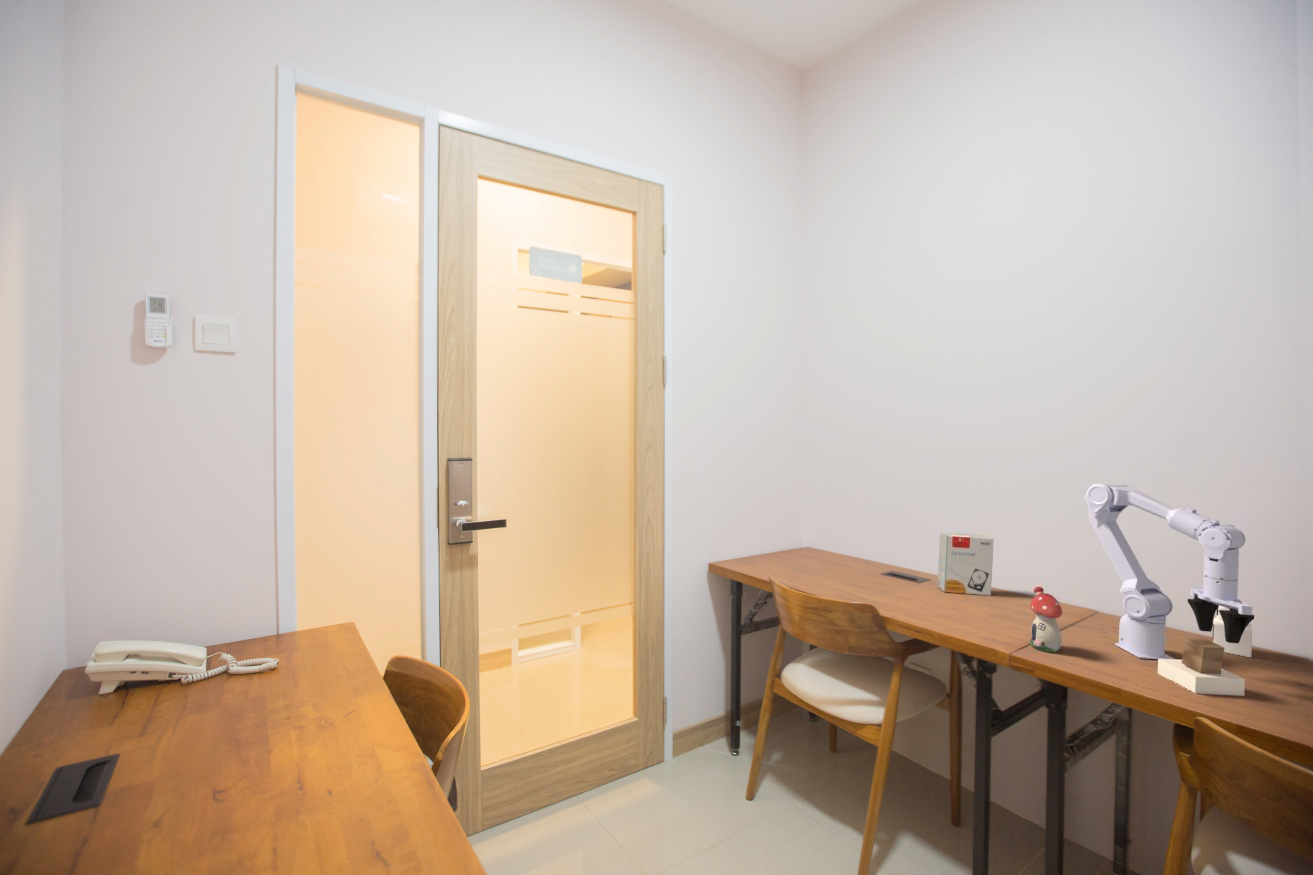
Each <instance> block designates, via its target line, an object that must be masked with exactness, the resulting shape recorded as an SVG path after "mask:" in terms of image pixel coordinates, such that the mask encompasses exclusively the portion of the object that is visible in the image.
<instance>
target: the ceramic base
mask: <svg viewBox="0 0 1313 875" xmlns="http://www.w3.org/2000/svg"><path fill="white" fill-rule="evenodd" d="M1158 674H1159V675H1158ZM1157 675H1158V676H1160V675H1161V676H1160V677H1162V676H1163V677H1162V678H1164V677H1165V678H1164V679H1166V678H1167V679H1166V680H1168V679H1169V680H1168V681H1170V680H1172V681H1174V682H1175V683H1174V682H1173V683H1174V684H1176V683H1178V684H1179V685H1178V684H1177V685H1178V686H1180V685H1181V686H1180V687H1182V686H1183V687H1182V688H1184V687H1185V688H1184V689H1186V688H1187V689H1186V690H1188V691H1189V690H1191V691H1192V692H1191V691H1190V692H1191V693H1193V692H1194V693H1193V694H1197V693H1199V694H1202V695H1218V696H1219V695H1220V696H1239V697H1240V696H1241V697H1242V696H1243V697H1244V696H1245V683H1246V682H1245V681H1246V679H1245V678H1244V677H1241V676H1239V675H1237V674H1235V673H1233V672H1230V671H1228V670H1225V669H1223V668H1222V669H1221V674H1205V673H1199V672H1197V671H1195V670H1193V669H1191V668H1190V667H1188V666H1186V665H1184V664H1182V659H1176V658H1174V659H1157ZM1172 681H1171V682H1172Z"/></svg>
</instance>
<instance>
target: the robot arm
mask: <svg viewBox="0 0 1313 875" xmlns="http://www.w3.org/2000/svg"><path fill="white" fill-rule="evenodd" d="M1083 499H1084V501H1085V502H1086V504H1087V515H1088V521H1089V524H1090V526H1091V527H1092V529H1093V531H1094V533H1095V535H1096V537H1097V539H1098V540H1099V542H1100V544H1101V546H1102V548H1103V550H1104V552H1105V554H1106V555H1107V557H1108V559H1109V561H1110V563H1111V565H1112V567H1113V568H1114V571H1115V572H1116V574H1117V576H1118V578H1119V580H1120V582H1121V587H1120V589H1119V591H1118V592H1119V596H1120V597H1121V600H1122V602H1121V603H1122V608H1123V610H1124V612H1125V613H1126V614H1124V615H1123V616H1121V617H1120V620H1119V625H1118V626H1119V628H1118V630H1119V631H1118V642H1115V643H1114V644H1115V646H1116V647H1119V648H1120V649H1123V650H1125V651H1126V652H1128V653H1130V654H1131V655H1133V656H1135V657H1137V658H1139V659H1149V660H1158V659H1175V658H1174V657H1172V656H1170V655H1169V654H1166V628H1167V626H1166V621H1167V616H1169V615H1170V614H1171V613H1172V611H1173V609H1174V608H1173V601H1172V600H1171V598H1170V597H1169V596H1168V595H1167V594H1166V593H1164V592H1163V590H1161V589H1160V586H1159V585H1158V584H1157V583H1156V582H1154V581H1153V580H1151V579H1149V577H1147V575H1146V573H1145V571H1144V569H1143V567H1142V566H1141V564H1140V563H1139V560H1138V559H1137V557H1136V555H1135V553H1134V551H1133V549H1132V547H1131V546H1130V544H1129V542H1128V541H1127V539H1126V537H1125V535H1124V534H1123V532H1122V530H1121V528H1120V526H1119V524H1118V523H1117V519H1118V517H1119V515H1120V514H1121V513H1122V512H1123V511H1124V510H1125V509H1127V507H1128V506H1132V507H1135V508H1137V509H1140V510H1142V511H1145V512H1147V513H1149V514H1152V515H1154V516H1156V517H1158V518H1160V519H1163V520H1165V521H1166V523H1167V525H1168V527H1169V528H1171V529H1173V530H1175V531H1177V532H1179V533H1181V534H1183V535H1186V536H1187V537H1190V538H1191V539H1193V540H1195V541H1196V542H1197V541H1198V542H1199V544H1200V545H1201V547H1202V548H1203V551H1204V552H1203V575H1202V580H1203V582H1202V589H1201V588H1193V587H1191V588H1190V597H1192V598H1188V599H1187V603H1188V604H1189V606H1190V608H1191V609H1192V612H1193V614H1194V617H1195V620H1196V623H1197V627H1198V630H1199V631H1201V632H1212V631H1213V621H1214V618H1215V614H1216V613H1217V607H1218V606H1219V605H1220V606H1223V607H1225V608H1228V609H1230V611H1229V610H1219V613H1220V615H1221V617H1222V619H1223V623H1224V629H1225V639H1226V642H1228V643H1239V641H1240V639H1241V636H1242V634H1243V632H1244V630H1245V628H1246V627H1247V625H1248V624H1251V622H1252V621H1253V620H1255V615H1254V614H1253V606H1252V605H1249V604H1247V603H1245V602H1243V601H1242V600H1240V599H1239V598H1238V593H1239V592H1238V590H1239V589H1238V588H1239V566H1240V564H1239V562H1240V560H1239V559H1240V558H1239V556H1240V549H1241V548H1243V546H1244V545H1245V543H1246V536H1245V534H1244V532H1243V531H1242V530H1241V529H1240V528H1238V527H1236V526H1235V525H1234V524H1227V523H1226V524H1220V520H1219V519H1215V518H1212V519H1211V518H1209V517H1206V516H1204V515H1202V514H1200V513H1197V510H1198V509H1195V508H1194V507H1193V508H1192V507H1179V508H1174V507H1173V506H1171V505H1169V504H1167V503H1164V502H1162V501H1160V500H1159V499H1157V498H1155V497H1153V496H1151V495H1148V494H1147V493H1145V492H1143V491H1141V490H1139V489H1138V488H1136V487H1133V486H1129V485H1127V484H1125V483H1122V482H1118V483H1117V482H1116V483H1094V484H1092V485H1090V486H1089V487H1088V489H1087V490H1086V492H1085V495H1084V496H1083Z"/></svg>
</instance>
